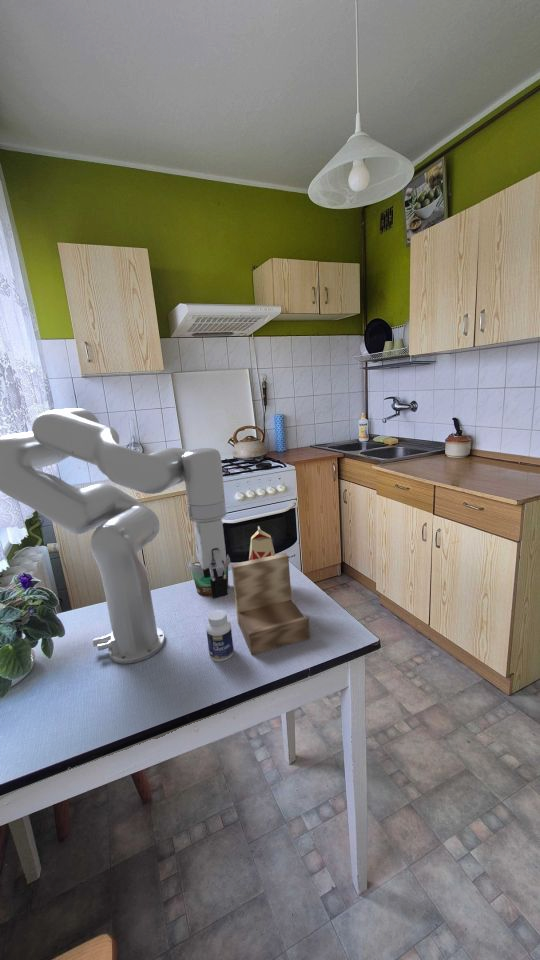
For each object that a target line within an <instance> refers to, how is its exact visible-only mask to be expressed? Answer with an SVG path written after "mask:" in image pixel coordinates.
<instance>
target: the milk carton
mask: <svg viewBox="0 0 540 960" xmlns="http://www.w3.org/2000/svg"><path fill="white" fill-rule="evenodd" d="M248 555H249V556H248V561H250V560H255V559H259V558H264V557H269V556H274V555H276V553H275V548H274V544H273V540H272V537H271V535H270V534H268V533H267V532H265V531H263V530H262V529H261V527H260V525H258V526H257V530H256V532H255V533H254V534H253V535H252V536H251V537H250V545H249V554H248Z"/></svg>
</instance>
